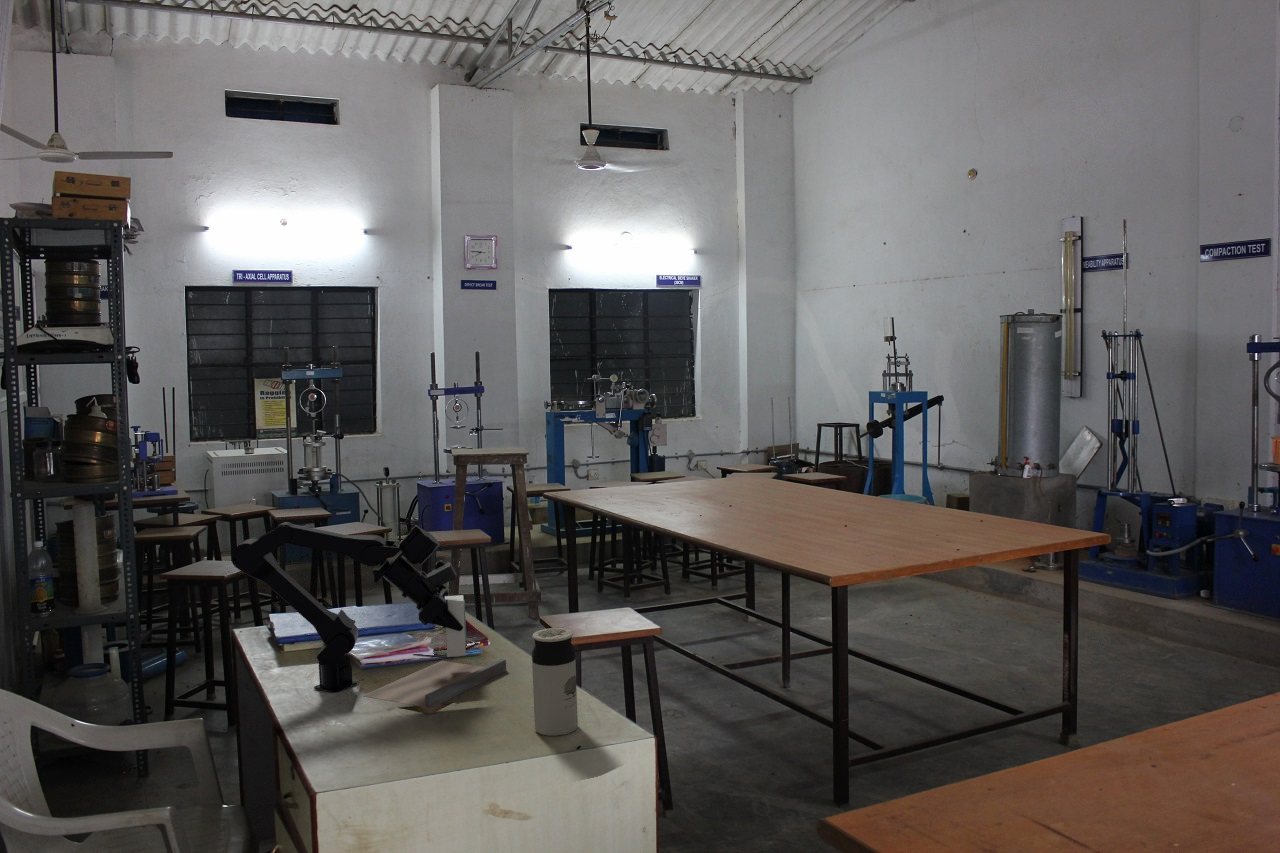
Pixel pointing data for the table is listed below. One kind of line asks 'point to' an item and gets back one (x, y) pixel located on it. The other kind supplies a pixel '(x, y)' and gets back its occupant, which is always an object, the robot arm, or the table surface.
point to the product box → (454, 637)
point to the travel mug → (554, 682)
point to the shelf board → (436, 685)
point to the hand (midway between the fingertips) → (461, 625)
